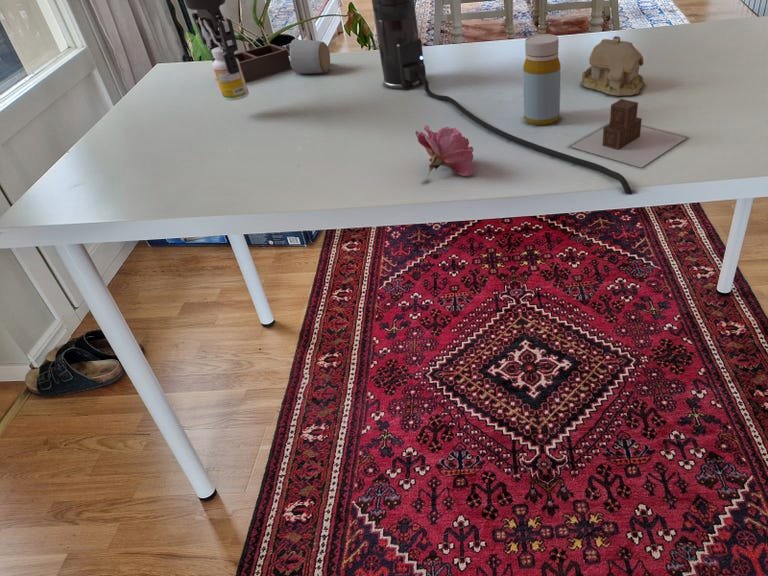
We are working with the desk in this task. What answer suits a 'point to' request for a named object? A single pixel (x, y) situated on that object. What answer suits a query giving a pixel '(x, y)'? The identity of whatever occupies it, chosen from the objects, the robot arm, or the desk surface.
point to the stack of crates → (628, 137)
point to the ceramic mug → (309, 56)
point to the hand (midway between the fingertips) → (227, 69)
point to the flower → (447, 149)
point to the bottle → (541, 79)
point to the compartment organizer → (263, 61)
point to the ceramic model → (614, 68)
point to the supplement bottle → (229, 78)
